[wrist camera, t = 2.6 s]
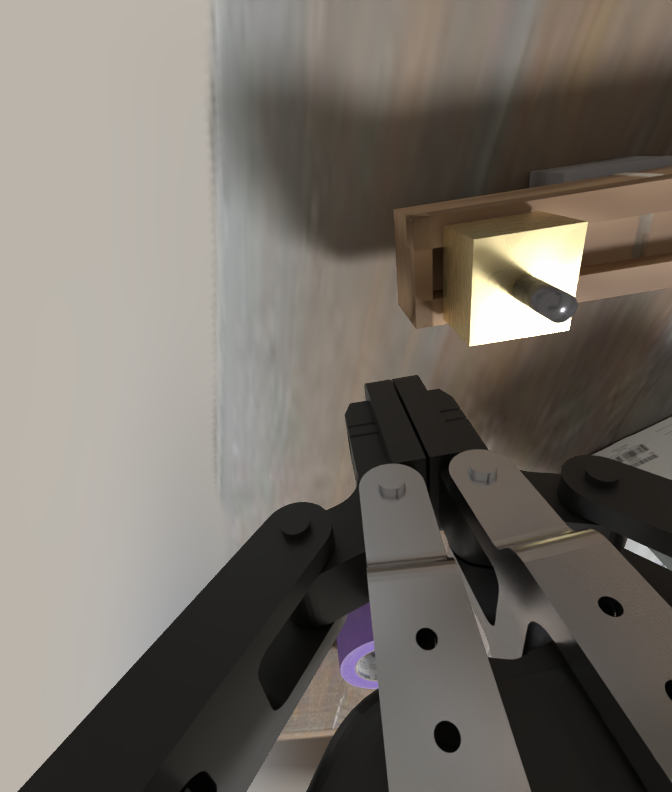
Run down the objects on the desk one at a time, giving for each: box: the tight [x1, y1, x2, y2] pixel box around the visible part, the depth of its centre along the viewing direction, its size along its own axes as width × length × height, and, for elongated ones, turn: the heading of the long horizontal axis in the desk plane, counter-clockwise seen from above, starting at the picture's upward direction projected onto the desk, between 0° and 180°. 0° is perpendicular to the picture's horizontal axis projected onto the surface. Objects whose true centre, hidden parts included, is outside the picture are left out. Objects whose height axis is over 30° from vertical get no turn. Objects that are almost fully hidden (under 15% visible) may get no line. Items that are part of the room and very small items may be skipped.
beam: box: [393, 156, 672, 329], centre depth 26 cm, size 7×28×8 cm, turn 97°
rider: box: [443, 211, 588, 346], centre depth 20 cm, size 5×5×8 cm
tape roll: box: [336, 602, 378, 689], centre depth 52 cm, size 12×12×5 cm
